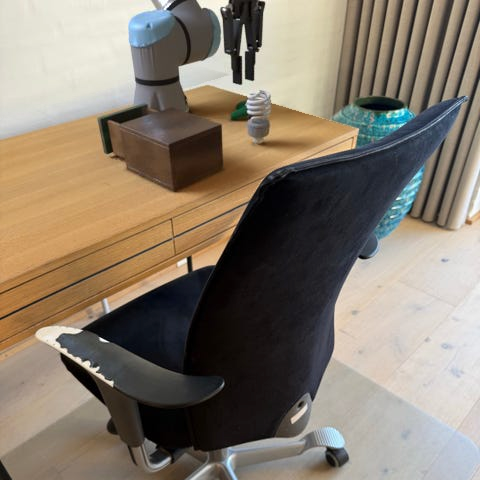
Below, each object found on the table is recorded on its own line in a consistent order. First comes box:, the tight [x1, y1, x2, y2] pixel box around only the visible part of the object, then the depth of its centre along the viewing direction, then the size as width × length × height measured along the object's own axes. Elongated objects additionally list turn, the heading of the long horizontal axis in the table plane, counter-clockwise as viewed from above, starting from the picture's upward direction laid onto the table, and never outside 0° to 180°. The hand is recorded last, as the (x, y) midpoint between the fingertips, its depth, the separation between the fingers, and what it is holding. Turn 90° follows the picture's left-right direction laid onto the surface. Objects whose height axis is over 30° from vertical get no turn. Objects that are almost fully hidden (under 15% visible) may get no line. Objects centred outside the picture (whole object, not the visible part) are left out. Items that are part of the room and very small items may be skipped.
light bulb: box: [246, 89, 272, 145], centre depth 110 cm, size 6×6×12 cm
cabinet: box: [119, 107, 224, 193], centre depth 101 cm, size 16×14×10 cm
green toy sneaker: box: [229, 99, 250, 121], centre depth 128 cm, size 9×4×6 cm
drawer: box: [96, 103, 158, 160], centre depth 107 cm, size 20×13×8 cm
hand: (243, 81), depth 123 cm, fingers open, 4 cm apart
